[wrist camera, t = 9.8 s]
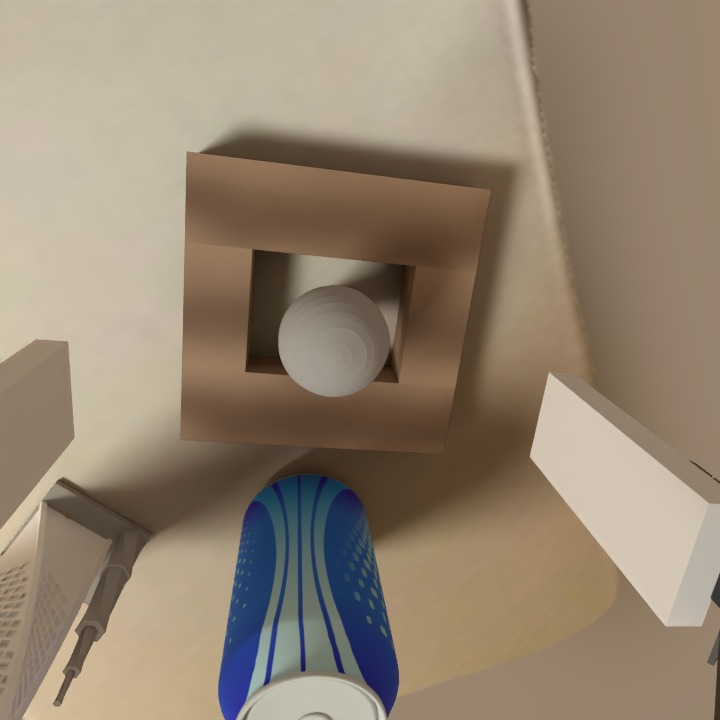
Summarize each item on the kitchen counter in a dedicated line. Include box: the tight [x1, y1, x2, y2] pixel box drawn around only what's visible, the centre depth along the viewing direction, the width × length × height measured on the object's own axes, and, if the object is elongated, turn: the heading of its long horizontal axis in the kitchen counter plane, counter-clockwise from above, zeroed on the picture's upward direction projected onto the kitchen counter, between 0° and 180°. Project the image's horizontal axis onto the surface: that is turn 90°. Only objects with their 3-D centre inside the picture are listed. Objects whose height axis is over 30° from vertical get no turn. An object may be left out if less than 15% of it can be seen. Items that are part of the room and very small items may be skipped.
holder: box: [181, 152, 491, 454], centre depth 33 cm, size 16×16×3 cm
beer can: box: [218, 474, 399, 720], centre depth 31 cm, size 8×8×16 cm
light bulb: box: [278, 285, 390, 397], centre depth 30 cm, size 5×6×10 cm
